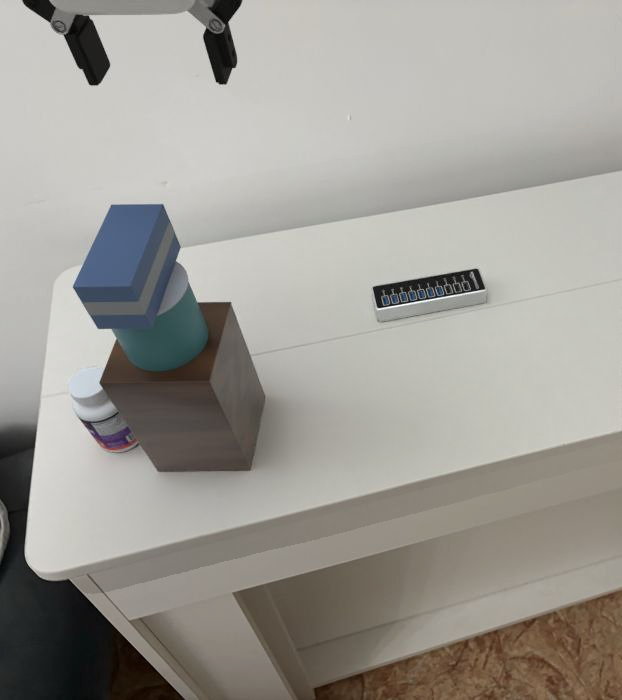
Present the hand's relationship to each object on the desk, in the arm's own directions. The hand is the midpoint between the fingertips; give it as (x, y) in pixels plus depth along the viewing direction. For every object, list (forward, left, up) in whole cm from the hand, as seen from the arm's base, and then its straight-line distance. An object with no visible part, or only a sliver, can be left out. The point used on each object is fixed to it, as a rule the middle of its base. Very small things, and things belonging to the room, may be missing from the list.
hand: (163, 75), depth 55 cm
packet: (-8, +5, -15) cm, 18 cm away
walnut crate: (-8, +5, -39) cm, 40 cm away
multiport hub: (+12, -19, -39) cm, 45 cm away
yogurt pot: (-8, +5, -23) cm, 24 cm away
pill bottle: (-8, +15, -39) cm, 42 cm away
